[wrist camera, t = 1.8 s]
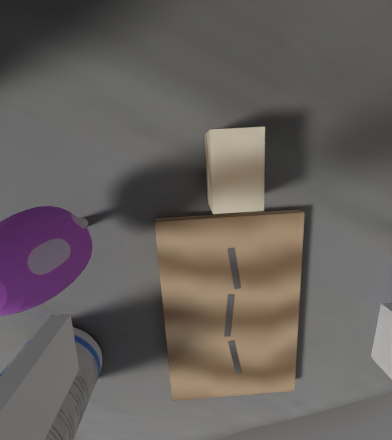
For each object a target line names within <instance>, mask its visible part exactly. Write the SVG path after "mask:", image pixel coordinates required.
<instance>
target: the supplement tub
mask: <svg viewBox="0 0 392 440" xmlns="http://www.w3.org/2000/svg"><path fill="white" fill-rule="evenodd" d="M73 332H74V339H75V345H76V352H77V358H78V364H79V371H78V373H77V375H76V377H75V379H74V381H73V383H72V385H71V387H70V389H69V391H68V393H67V395H66V397H65V399H64V401H63V403H62V405H61V407H60V409H59V411H58V413H57V415H56V417H55V419H54V421H53V423H52V426H51V428H50V430H49V432H48V434H47V436H46V438H45V440H73V439H74V436H75V434H76V431H77V429H78V426H79V424H80V421H81V419H82V416H83V414H84V411H85V409H86V406H87V404H88V401H89V399H90V396H91V394H92V391H93V389H94V387H95V384H96V381H97V379H98V376H99V373H100V371H101V368H102V353H101V350H100V348H99V346H98V344H97V343H96V341H95V340H94V339H93V338H92V337H91V336H90V335H88V334H87V333H86V332H84V331H82V330H80V329H77V328H74V327H73ZM34 336H35V335H34ZM34 336H33V337H34ZM33 337H32V338H33ZM32 338H31V339H32ZM31 339H30V340H31ZM30 340H29V341H28V342H27V343H26V344H25V345H24V347H23V348H22V349H21V350H20V351H19V352H18V354H17V355H16V356H15V357H14V358H13V360H12V361H11V362H10V363H9V364H8V366H7V367H6V368H5V369H4V370H3V371H2V373H1V374H0V376H1V375H2V374H3V373H4V372H5V370H6V369H7V368H8V367H9V366H10V364H11V363H12V362H13V361H14V360H15V358H16V357H17V356H18V355H19V354H20V352H21V351H22V350H23V349H24V348H25V346H26V345H27V344H28V343H29V342H30Z"/></svg>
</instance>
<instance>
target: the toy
mask: <svg viewBox="0 0 392 440" xmlns="http://www.w3.org/2000/svg"><path fill="white" fill-rule="evenodd" d="M87 226H88V220H87V219H85V218H80V219H79V218H78V217H77V216H75V215H73V214H72V213H70V212H69V211H67V210H64V209H61V208H58V207H52V206H43V207H36V208H32V209H28V210H25V211H22V212H19V213H17V214H14V215H12V216H10V217H8V218H6V219H5V220H3V221H1V222H0V316H2V315H8V314H13V313H19V312H23V311H25V310H28V309H30V308H33V307H35V306H38V305H40V304H42V303H44V302H46V301H48V300H49V299H51V298H53V297H54V296H56V295H57V294H59V293H60V292H61V291H63V290H64V289H65V288H66V287H68V286H69V285H70V284H71V283H72V282H73V281H74V280H75V279H76V278H77V277H78V276H79V275H80V273H81V272H82V271H83V270H84V269H85V267H86V265H87V264H88V261H89V259H90V257H91V253H92V240H91V237H90V234H89V231H88V230H87V228H86V227H87Z"/></svg>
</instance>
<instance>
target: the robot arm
mask: <svg viewBox="0 0 392 440" xmlns="http://www.w3.org/2000/svg"><path fill="white" fill-rule="evenodd" d="M371 357H372V359H373V360H374V361H375V362H376V363H377V364H378V365H379V366H380V367H381V368H382V369H383V370H384V372H385V373H386V374H387V375H388V376H389V377H390V378H391V379H392V303H381V307H380V313H379V318H378V323H377V328H376V333H375V338H374V344H373V349H372V354H371ZM78 371H79V364H78V358H77V352H76V345H75V339H74V332H73V326H72V320H71V314H65V315H51V316H50V318H49V319H48V320H47V321H46V322H45V324H44V325H43V326H42V327H41V328H40V330H39V331H38V332H37V333H36V334H35V336H34V337H33V338H32V339H31V340H30V342H29V343H28V344H27V345H26V346H25V348H24V349H23V350H22V351H21V352H20V354H19V355H18V356H17V357H16V358H15V360H14V361H13V362H12V363H11V364H10V366H9V367H8V368H7V369H6V370H5V372H4V373H3V374H2V375H1V376H0V440H45V438H46V436H47V434H48V432H49V430H50V428H51V426H52V423H53V421H54V419H55V417H56V415H57V413H58V411H59V409H60V407H61V405H62V403H63V401H64V399H65V397H66V395H67V393H68V391H69V389H70V387H71V385H72V383H73V381H74V379H75V377H76V375H77V373H78Z"/></svg>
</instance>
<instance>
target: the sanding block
mask: <svg viewBox="0 0 392 440" xmlns="http://www.w3.org/2000/svg"><path fill="white" fill-rule="evenodd" d="M204 138H205V161H206V184H207V202H208V205H209V207H210V209H211V211H212V213H213V214H223V213H239V212H255V211H264V169H265V127H249V128H231V129H212V130H209V131H208V132H207V133H206V134H205V135H204Z"/></svg>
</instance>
